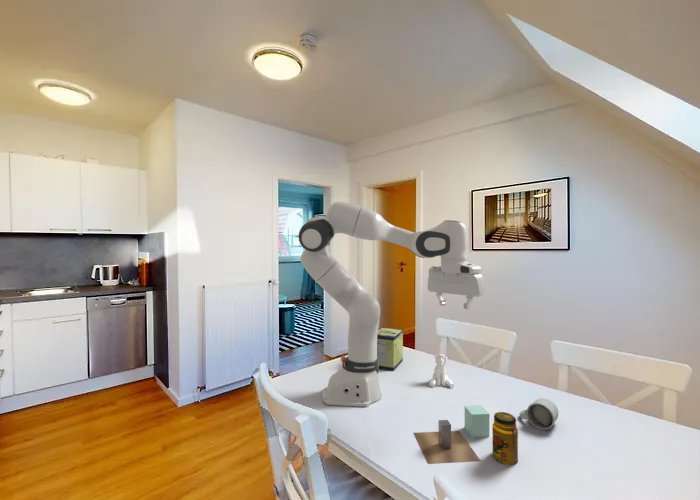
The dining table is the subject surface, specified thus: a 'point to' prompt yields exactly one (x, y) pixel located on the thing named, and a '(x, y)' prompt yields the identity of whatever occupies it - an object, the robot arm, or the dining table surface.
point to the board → (438, 455)
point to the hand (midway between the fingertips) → (454, 306)
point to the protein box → (389, 348)
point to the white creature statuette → (440, 373)
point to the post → (444, 434)
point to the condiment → (505, 439)
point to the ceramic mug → (541, 413)
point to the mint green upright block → (477, 421)
